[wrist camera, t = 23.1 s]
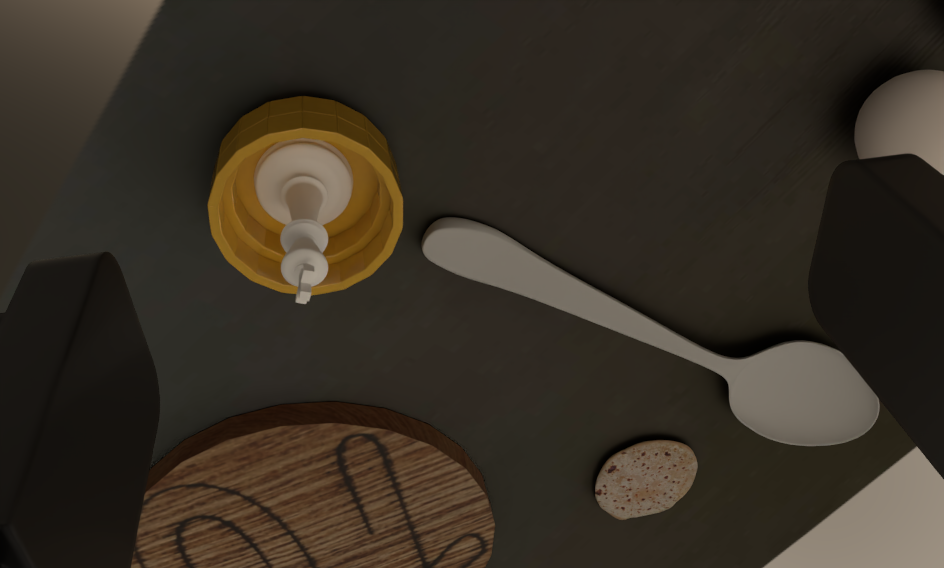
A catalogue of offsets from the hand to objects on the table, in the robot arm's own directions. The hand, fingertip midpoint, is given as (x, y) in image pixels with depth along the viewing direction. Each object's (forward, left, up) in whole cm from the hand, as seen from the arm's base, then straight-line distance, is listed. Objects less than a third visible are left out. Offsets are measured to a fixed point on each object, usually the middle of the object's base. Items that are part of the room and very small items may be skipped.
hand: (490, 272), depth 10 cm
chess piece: (+12, -10, -32) cm, 35 cm away
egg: (+25, +19, -32) cm, 45 cm away
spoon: (+33, +3, -32) cm, 46 cm away
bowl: (+12, -10, -32) cm, 36 cm away
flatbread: (+45, -3, -32) cm, 55 cm away
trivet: (+36, -25, -32) cm, 54 cm away
